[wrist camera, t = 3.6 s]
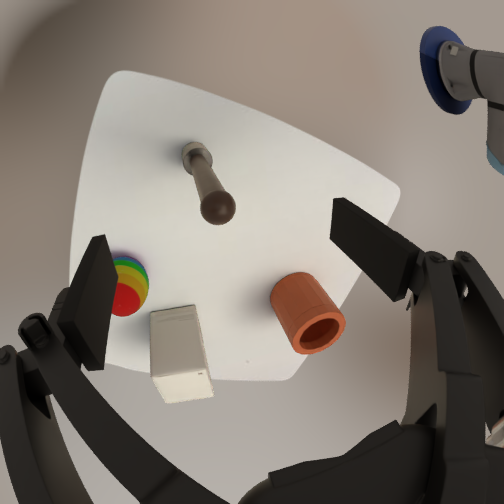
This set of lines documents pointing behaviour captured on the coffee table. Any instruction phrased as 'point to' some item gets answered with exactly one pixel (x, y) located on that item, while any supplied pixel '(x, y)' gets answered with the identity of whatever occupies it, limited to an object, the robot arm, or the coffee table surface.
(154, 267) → the coffee table surface
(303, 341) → the jar
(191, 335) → the rectangular carton
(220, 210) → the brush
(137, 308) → the decorative egg
